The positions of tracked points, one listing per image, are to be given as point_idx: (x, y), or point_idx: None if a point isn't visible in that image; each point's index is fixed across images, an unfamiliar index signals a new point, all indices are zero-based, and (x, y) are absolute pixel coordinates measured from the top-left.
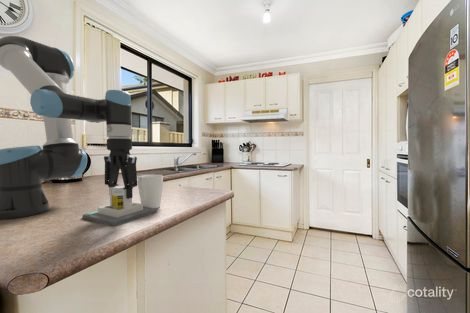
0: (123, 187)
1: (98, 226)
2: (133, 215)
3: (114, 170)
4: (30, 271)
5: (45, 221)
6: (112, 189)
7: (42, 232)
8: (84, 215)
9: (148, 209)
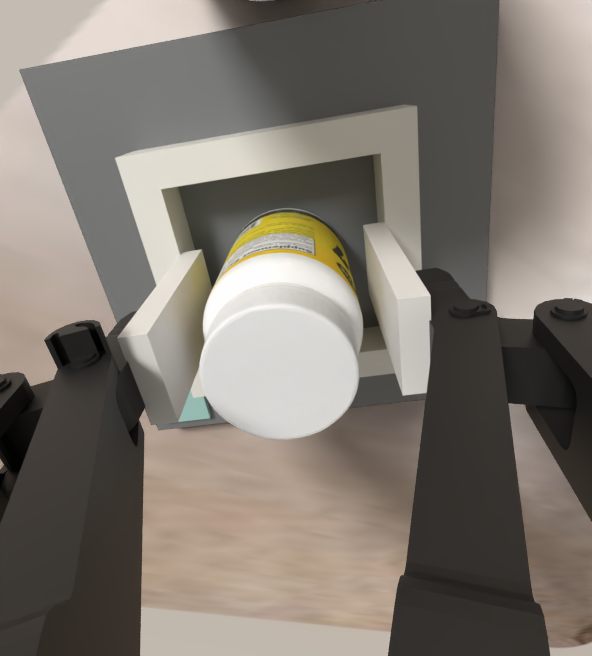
0: (355, 371)
1: (392, 421)
2: (475, 258)
3: (126, 640)
4: (582, 623)
5: None
6: (179, 392)
7: (261, 554)
8: (179, 426)
9: (441, 59)
